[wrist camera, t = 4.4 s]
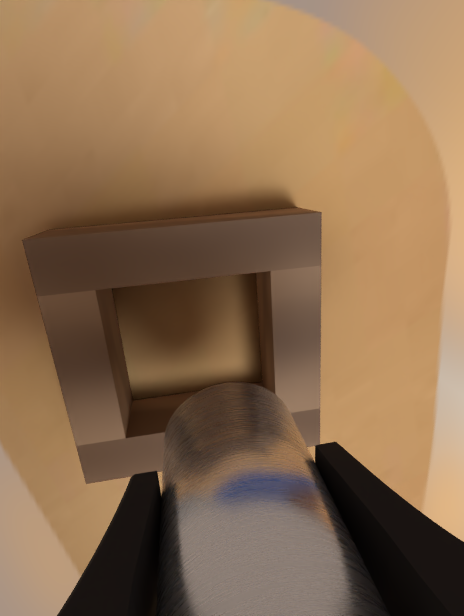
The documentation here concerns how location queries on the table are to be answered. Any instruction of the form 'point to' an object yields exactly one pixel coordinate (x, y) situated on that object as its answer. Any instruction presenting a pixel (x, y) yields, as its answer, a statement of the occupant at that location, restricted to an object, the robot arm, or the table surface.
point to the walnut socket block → (160, 269)
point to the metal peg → (251, 516)
